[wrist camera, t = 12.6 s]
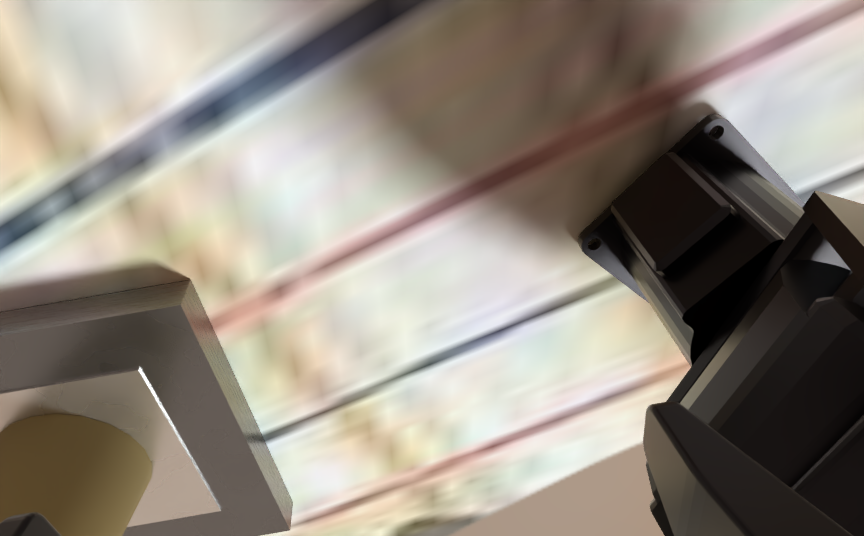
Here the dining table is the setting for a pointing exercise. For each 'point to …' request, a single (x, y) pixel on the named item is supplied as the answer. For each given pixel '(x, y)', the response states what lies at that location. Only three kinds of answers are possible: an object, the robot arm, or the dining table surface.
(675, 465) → the robot arm
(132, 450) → the cork
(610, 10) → the dining table surface
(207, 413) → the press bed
